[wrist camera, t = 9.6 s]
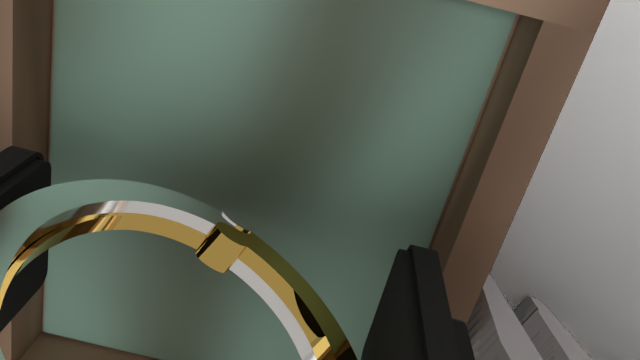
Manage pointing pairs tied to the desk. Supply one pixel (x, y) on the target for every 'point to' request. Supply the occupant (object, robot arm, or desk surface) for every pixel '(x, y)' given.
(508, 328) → the caliper
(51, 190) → the ring
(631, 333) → the desk surface
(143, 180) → the jewellery tray
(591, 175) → the desk surface
